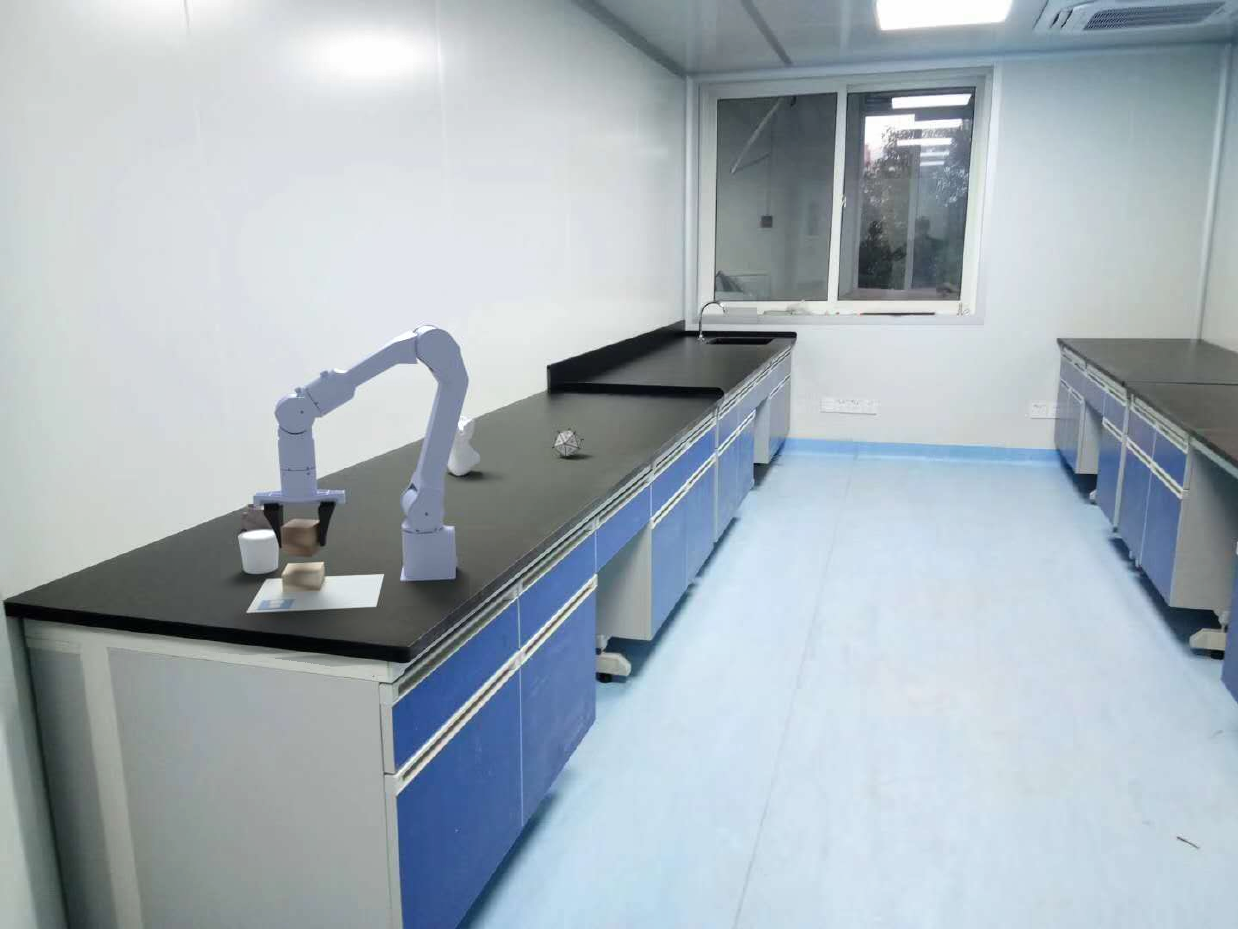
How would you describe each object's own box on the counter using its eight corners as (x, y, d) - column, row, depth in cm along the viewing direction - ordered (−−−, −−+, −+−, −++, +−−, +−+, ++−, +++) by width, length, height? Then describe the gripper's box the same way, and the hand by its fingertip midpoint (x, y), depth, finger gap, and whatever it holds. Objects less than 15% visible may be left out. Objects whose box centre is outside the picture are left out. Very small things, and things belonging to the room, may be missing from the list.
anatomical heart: (483, 471, 251) (482, 414, 248) (472, 480, 240) (471, 422, 237) (447, 469, 252) (445, 413, 249) (435, 479, 241) (433, 421, 238)
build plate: (384, 576, 169) (384, 573, 169) (376, 609, 153) (376, 605, 153) (266, 581, 166) (266, 578, 166) (246, 615, 150) (245, 611, 150)
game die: (574, 470, 269) (590, 445, 264) (547, 462, 266) (563, 436, 260) (571, 449, 276) (587, 425, 270) (544, 441, 272) (560, 416, 267)
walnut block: (323, 548, 163) (321, 520, 162) (310, 557, 159) (309, 528, 157) (295, 546, 164) (293, 518, 163) (282, 555, 159) (280, 527, 158)
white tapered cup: (286, 565, 175) (284, 528, 173) (274, 577, 168) (271, 539, 166) (248, 565, 174) (245, 528, 173) (235, 577, 168) (232, 539, 166)
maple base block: (324, 578, 166) (323, 562, 166) (319, 590, 160) (318, 573, 160) (289, 579, 165) (288, 563, 165) (282, 591, 159) (281, 574, 159)
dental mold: (240, 535, 193) (238, 511, 192) (243, 525, 199) (241, 502, 198) (281, 532, 195) (280, 508, 194) (283, 523, 202) (282, 500, 201)
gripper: (345, 461, 163) (349, 537, 166) (257, 463, 161) (262, 540, 164) (340, 470, 156) (345, 549, 159) (248, 472, 154) (254, 552, 157)
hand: (302, 545), depth 161 cm, fingers closed on walnut block, 6 cm apart
